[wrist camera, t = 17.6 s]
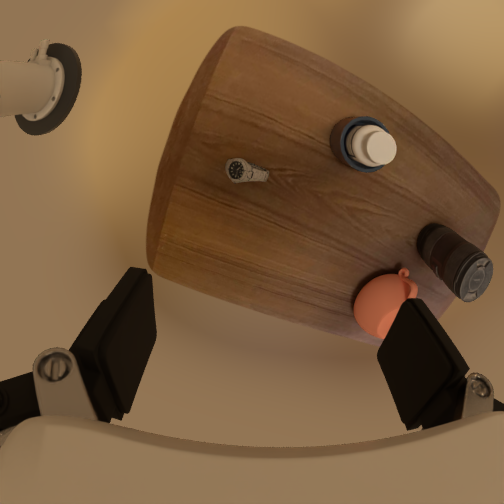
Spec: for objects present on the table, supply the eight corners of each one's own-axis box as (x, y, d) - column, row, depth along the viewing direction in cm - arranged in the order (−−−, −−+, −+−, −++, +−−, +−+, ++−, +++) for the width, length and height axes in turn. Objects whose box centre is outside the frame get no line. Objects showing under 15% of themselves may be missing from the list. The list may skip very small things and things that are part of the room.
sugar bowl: (338, 313, 50) (352, 350, 41) (374, 250, 45) (399, 281, 35) (386, 325, 52) (403, 359, 43) (421, 270, 46) (447, 299, 37)
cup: (334, 111, 35) (345, 110, 30) (380, 124, 35) (396, 125, 31) (325, 160, 38) (335, 165, 33) (371, 170, 39) (386, 177, 34)
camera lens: (442, 257, 45) (485, 299, 31) (410, 261, 45) (452, 307, 32) (450, 219, 42) (500, 254, 28) (417, 219, 42) (467, 258, 28)
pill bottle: (377, 140, 36) (409, 147, 27) (357, 167, 38) (384, 180, 29) (351, 117, 35) (378, 116, 26) (330, 144, 37) (352, 150, 28)
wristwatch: (230, 152, 38) (226, 155, 34) (271, 163, 39) (273, 168, 34) (223, 174, 40) (219, 181, 35) (264, 185, 40) (265, 193, 36)
